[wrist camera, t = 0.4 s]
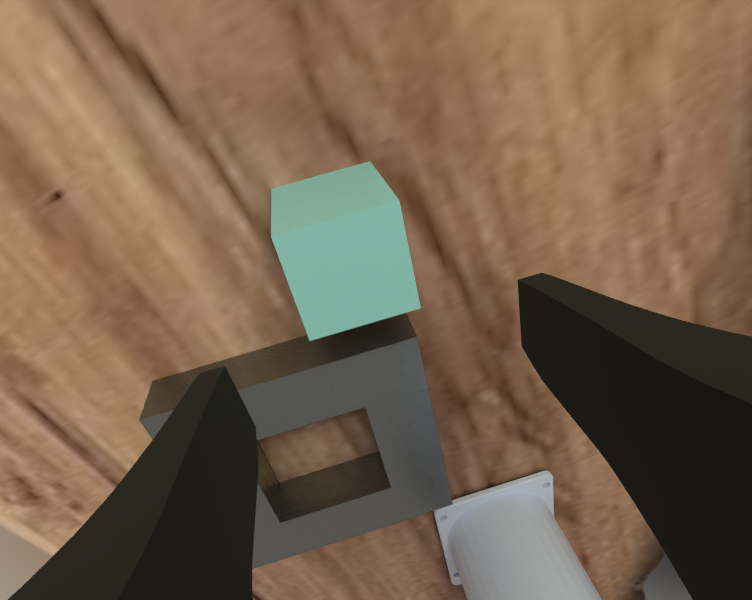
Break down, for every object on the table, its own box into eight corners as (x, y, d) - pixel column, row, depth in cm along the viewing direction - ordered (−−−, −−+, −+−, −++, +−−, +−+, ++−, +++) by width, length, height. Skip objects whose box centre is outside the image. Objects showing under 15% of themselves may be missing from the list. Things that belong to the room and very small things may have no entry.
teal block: (389, 250, 20) (420, 308, 16) (301, 275, 20) (309, 341, 16) (369, 161, 18) (399, 200, 14) (271, 188, 18) (270, 236, 14)
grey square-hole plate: (439, 468, 28) (452, 504, 26) (246, 529, 28) (244, 571, 25) (402, 307, 22) (417, 336, 20) (152, 381, 21) (139, 420, 19)
